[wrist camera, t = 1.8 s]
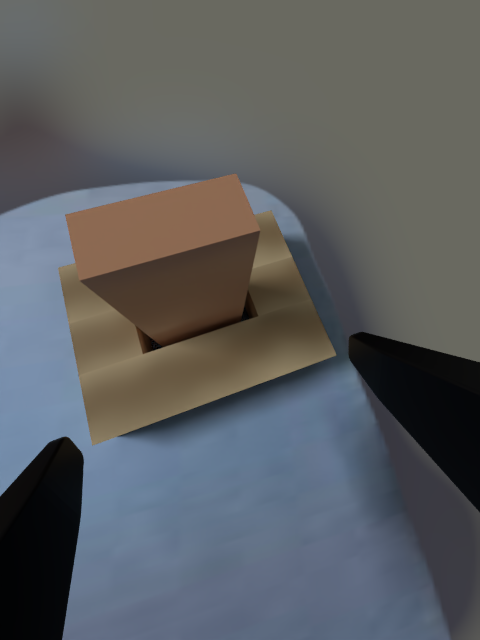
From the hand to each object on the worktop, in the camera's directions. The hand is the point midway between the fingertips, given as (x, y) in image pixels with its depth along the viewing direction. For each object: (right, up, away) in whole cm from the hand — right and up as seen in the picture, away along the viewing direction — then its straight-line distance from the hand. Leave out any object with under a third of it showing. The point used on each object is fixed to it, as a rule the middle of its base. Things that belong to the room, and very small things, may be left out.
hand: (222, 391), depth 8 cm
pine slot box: (-3, +2, +13) cm, 13 cm away
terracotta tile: (-3, +2, +13) cm, 13 cm away
